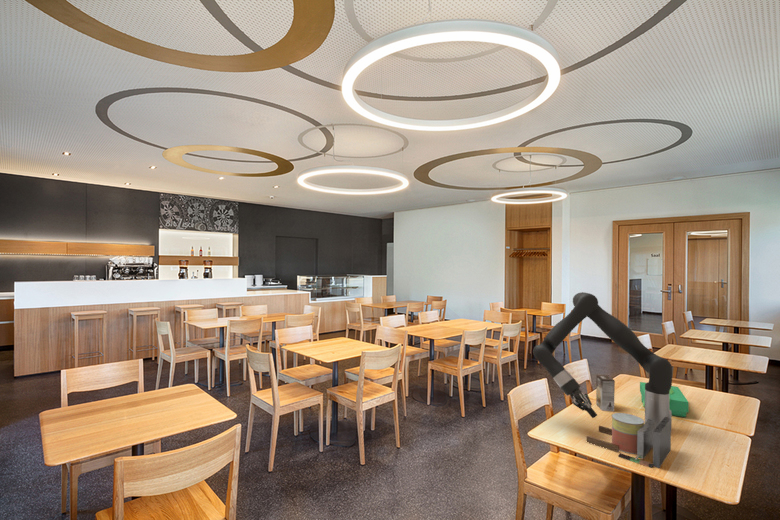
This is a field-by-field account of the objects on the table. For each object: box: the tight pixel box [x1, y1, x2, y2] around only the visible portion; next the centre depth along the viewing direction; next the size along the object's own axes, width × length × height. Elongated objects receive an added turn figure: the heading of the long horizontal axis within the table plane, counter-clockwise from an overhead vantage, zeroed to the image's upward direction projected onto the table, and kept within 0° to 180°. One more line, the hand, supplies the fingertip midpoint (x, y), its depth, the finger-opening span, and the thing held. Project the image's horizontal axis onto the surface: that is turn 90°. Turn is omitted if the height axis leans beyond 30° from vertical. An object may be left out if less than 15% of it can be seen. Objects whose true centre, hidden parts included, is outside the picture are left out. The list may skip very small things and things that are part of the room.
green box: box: [639, 381, 690, 418], centre depth 200 cm, size 18×12×35 cm
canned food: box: [611, 412, 645, 455], centre depth 157 cm, size 11×11×12 cm
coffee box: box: [595, 374, 616, 412], centre depth 201 cm, size 9×6×16 cm
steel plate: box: [634, 419, 655, 460], centre depth 152 cm, size 2×21×10 cm, turn 134°
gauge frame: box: [586, 417, 672, 469], centre depth 157 cm, size 26×22×13 cm
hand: (595, 416), depth 166 cm, fingers closed
